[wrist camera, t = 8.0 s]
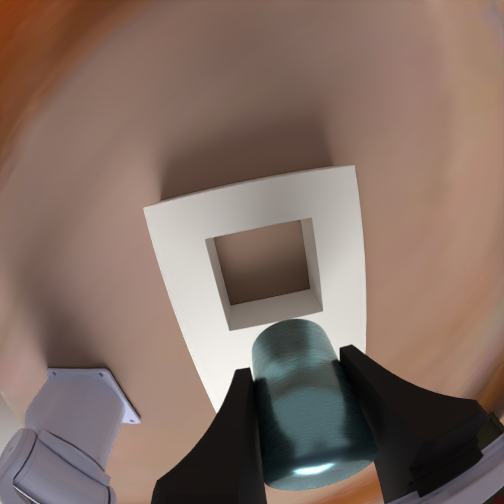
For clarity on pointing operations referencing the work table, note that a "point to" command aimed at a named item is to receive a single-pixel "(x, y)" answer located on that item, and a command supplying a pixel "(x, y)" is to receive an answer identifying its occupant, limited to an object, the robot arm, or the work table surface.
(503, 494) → the dark green bin
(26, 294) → the work table surface
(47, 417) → the robot arm
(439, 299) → the work table surface
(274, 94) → the work table surface
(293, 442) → the teal cylinder
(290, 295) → the bore block
